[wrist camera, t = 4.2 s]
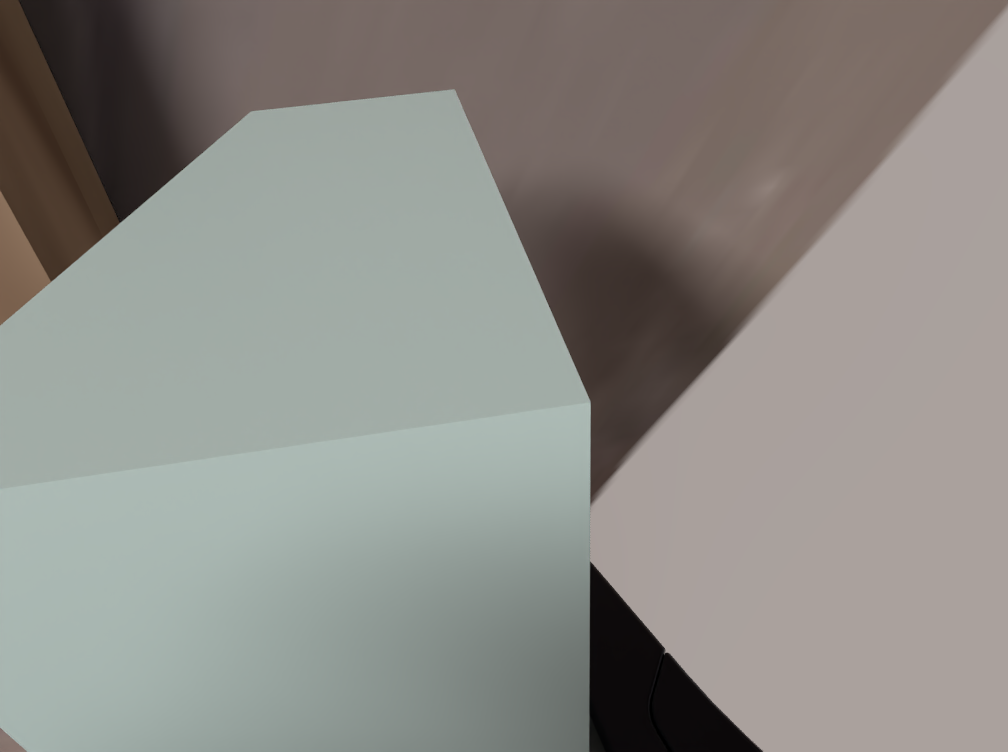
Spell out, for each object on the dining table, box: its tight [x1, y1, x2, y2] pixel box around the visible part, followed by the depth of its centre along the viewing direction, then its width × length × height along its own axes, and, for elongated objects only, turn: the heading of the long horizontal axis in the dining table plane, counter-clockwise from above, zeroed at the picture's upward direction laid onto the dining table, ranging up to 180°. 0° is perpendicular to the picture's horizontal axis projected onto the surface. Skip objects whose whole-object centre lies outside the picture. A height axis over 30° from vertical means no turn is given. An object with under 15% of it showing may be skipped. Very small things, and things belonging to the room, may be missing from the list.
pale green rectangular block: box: [0, 89, 591, 752], centre depth 9 cm, size 3×12×8 cm, turn 4°
